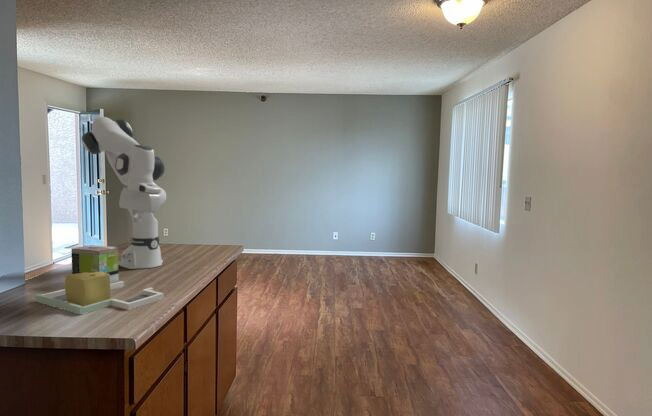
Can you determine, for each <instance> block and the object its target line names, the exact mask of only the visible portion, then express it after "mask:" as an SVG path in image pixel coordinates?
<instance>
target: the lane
mask: <svg viewBox="0 0 652 416" xmlns="http://www.w3.org/2000/svg"><path fill="white" fill-rule="evenodd" d="M122 287H125V282H124V281H123V280H121V281H117V282H114V283H111V284H110V291H112V290H115V289H116V290H117V289H119V288H122ZM34 296H35V297H34V301H35V302H36V303H38V302H39V304H42V303H43V305H45V304H47V305H46V306H48V305H51V306H50V307H52V306H55V307H58V308H57V309H59V308H62V309H65V310H67V311H66V312H69V311H70V313H72V312H74V313H73V314H75V313H78V314H77V315H79V314H82V315H84V314H83V313H85V314H87V313H86V312H88V313H91V312H90V311H92V312H94V310H95V311H98V310H101V308H102V309H104V307H105V308H108V307H111V306H112V307H116V308H119V309H124V310H127V311H131V310H133V308H134V309H136V307H137V308H139V307H142V306H147V305H149V304H152V303H154V302H155V303H156V302H158V301H160V300H164V299H165V295H164V292H161V291H155V290H154V287H148V288H145V289H142V290H141V295H139V296H136V297H133V298H129V299H126V300H120V299H116V298H110V299H109V300H105V301H102V302H98V303H94V304H91V305H87V306H84V307H83V306H80V305H76V304H72V303H69V302H68V301H67V297H66V292H65V288H64V289H58V290H56V291H52V292H47V293H42V294H40V293H36V294H34ZM65 300H66V301H65ZM55 307H54V308H55ZM62 309H61V310H62ZM97 309H98V310H97ZM65 310H64V311H65Z"/></svg>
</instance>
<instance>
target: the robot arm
mask: <svg viewBox="0 0 652 416" xmlns="http://www.w3.org/2000/svg"><path fill="white" fill-rule="evenodd" d="M133 137H134V134H133V129H132V127H131V125H130V124H129V122H127V121H126V120H125V119H123V118H120V119H119V118H118V119H115V120H112V119H111V118H110V117H106V116H99V117H97V118H95V119H94V120H93V121H92V123H91V130H90V131H86V132H85V133H84V134H83V135H82V136H81V142H82V146H83V147H84V149H85V150H86V151H88V152H89V153H90V154H92V155H98V154H101V153H102V152H105V156H106V158H107V161H108V163H109V164H110V166H111V168H112V170H113V171H114V173H115V175H116V176H117V178H118V180H119V181H120V183H121V184H122V185H124V186H123V188H122V190H121V192H120V196H119V202H118V206H119V208H121V209H127V210H128V212H129V213H130V216H131V220H132V229H133V230H132V231H133V234H132V235H133V236H132V237H130V238H129V239H130V240H129V241H130V242H131V243H130V245H129V246H128V247H127V248H126V249H125V250H123V251H122V253H121V260H118V267H119V266H120V267H122V268H126V269H129V270H134V269H135V270H137V269H150V268H157V267H160V266H162V265H163V263H164V261H163V259H162V254H161V247H160V245H159V244H160V236H159V221H158V219H157V218H155V216H154V214H157V213H158V212H159V210H160V206H162V205H163V204H165V203H166V202H167V201H166V200H167V193H166V191H165V189H163V187H161V186H158V185H157V184H156V183H155V182H154V181H157V180H158V179H160V178H161V177H162V176H163V175H164V173H165V163H164V162H163V161H162V159H161V158H160V157H159V156H155V149H153V148H152V147H150V146H146V145H143V144H142V143H140V142H139V141H137V140H136V139H134V138H133Z"/></svg>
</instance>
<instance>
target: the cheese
mask: <svg viewBox="0 0 652 416" xmlns="http://www.w3.org/2000/svg"><path fill="white" fill-rule="evenodd" d="M64 289H65V292H66V297H67V300H66V302H69V303H72V304H76V305H80V306H83V307H84V306H87V305H91V304H94V303H98V302H102V301H105V300H109V299H111V290H110V274H108V273H104V272H93V273H86V272H85V273H78V274H72V273H71V274H66V275H65V277H64Z"/></svg>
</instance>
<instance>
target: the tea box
mask: <svg viewBox="0 0 652 416" xmlns="http://www.w3.org/2000/svg"><path fill="white" fill-rule="evenodd" d="M70 250H71V274H78V273H85V272H86V273H93V272H104V273H108V274H110V284H112V283H116V282H119V265H118V262H119V248H118V246H109V245H108V246H107V245H94V244H91V245H90V244H89V245H85V246H79V247H72V248H71V249H70Z"/></svg>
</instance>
